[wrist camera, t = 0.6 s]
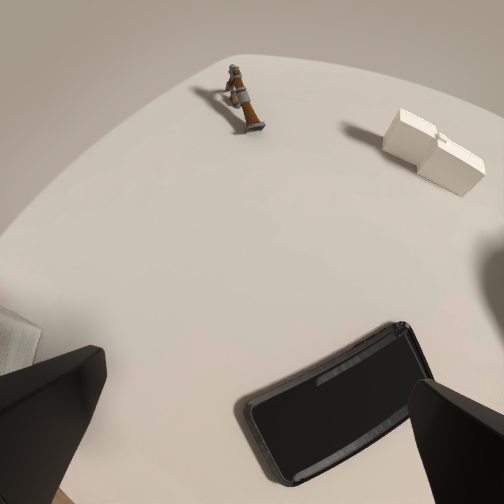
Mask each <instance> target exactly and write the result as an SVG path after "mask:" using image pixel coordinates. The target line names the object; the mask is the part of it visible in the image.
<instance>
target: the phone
mask: <svg viewBox="0 0 504 504" xmlns="http://www.w3.org/2000/svg"><path fill="white" fill-rule="evenodd" d="M421 379H432V380H434V377H433V375H432V372H431V370H430V368H429V365H428V363H427V361H426V358H425V356H424V354H423V352H422V349H421V347H420V345H419V343H418V340H417V338H416V336H415V334H414V332H413V330H412V328H411V326H410V325H409V324H408V323H407V322H404V321H400V322H397V323H395V324H392V325H390V326H389V327H387V328H384V329H383V330H381V331H380V332H379V333H378V334H374V335H373V336H371V337H369V338H368V339H366V341H362V342H360V343H359V344H357V345H355V347H354V348H352V349H351V350H349V351H347V352H345V353H344V354H342V355H340V356H338V357H336V358H334V359H333V360H331V361H329V362H327V363H325V364H323V365H321V366H320V367H318V368H316V369H314V370H312V371H310V372H308V373H306V374H304V375H302V376H300V377H298V378H296V379H294V380H292V381H290V382H288V383H286V384H283V385H281V386H279V387H277V388H275V389H273V390H271V391H268V392H266V393H264V394H262V395H260V396H257V397H255V398H253V399H251V400H250V401H249V402H248V403H247V404H246V406H245V408H244V416H245V419H246V421H247V423H248V425H249V427H250V429H251V431H252V433H253V435H254V437H255V439H256V441H257V443H258V445H259V447H260V448H261V450H262V452H263V454H264V456H265V458H266V460H267V462H268V464H269V466H270V467H271V469H272V471H273V473H274V475H275V477H276V478H277V480H278V481H279V483H280V484H282V485H283V486H286V487H295V486H298V485H300V484H302V483H304V482H306V481H308V480H310V479H312V478H314V477H316V476H318V475H320V474H322V473H324V472H326V471H328V470H330V469H331V468H333V467H335V466H337V465H339V464H340V463H342V462H344V461H346V460H347V459H349V458H351V457H352V456H354V455H356V454H357V453H359V452H361V451H362V450H364V449H365V448H367V447H369V446H370V445H372V444H373V443H375V442H376V441H378V440H379V439H381V438H382V437H384V436H385V435H387V434H388V433H389V432H391V431H392V430H394V429H395V428H396V427H398V426H399V425H401V424H402V423H403V422H405V421H406V420H407V419H409V418H410V416H409V412H408V408H407V403H408V400H409V398H410V396H411V393H412V391H413V389H414V387H415V385H416V383H417V382H418V381H419V380H421ZM434 381H435V380H434Z"/></svg>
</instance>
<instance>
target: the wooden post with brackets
mask: <svg viewBox="0 0 504 504" xmlns="http://www.w3.org/2000/svg"><path fill="white" fill-rule="evenodd" d="M229 74H230V79H229V81H228V82H227V84H226V90H227V91H231V90H232V91H231V93H232V94H231V93H230V94H231V95H230V98H229V99H232V103H233V106H234V105H235V106H236V108H240V107H241V106H242V109H243V112H244V116H245V120H246V124H247V128H246V129H245V134H246V133H247V132H251V131H256V130H262V129H263V128H264V127H265V125H266V124H265V123H264V122H260V121H259V119H258V118H257V116H256V114H255V112H254V110H253V108H252V106H251V104H250V101H251V100H250V98H249V96H248V91H246V89H247V88H246V87H244V85H243V82H242V79H241V78H242V75H241V73H240V70H239V67H236V66H235V65H234V64H232V65H230V66H229ZM234 86H235V88H236V90H234Z"/></svg>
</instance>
